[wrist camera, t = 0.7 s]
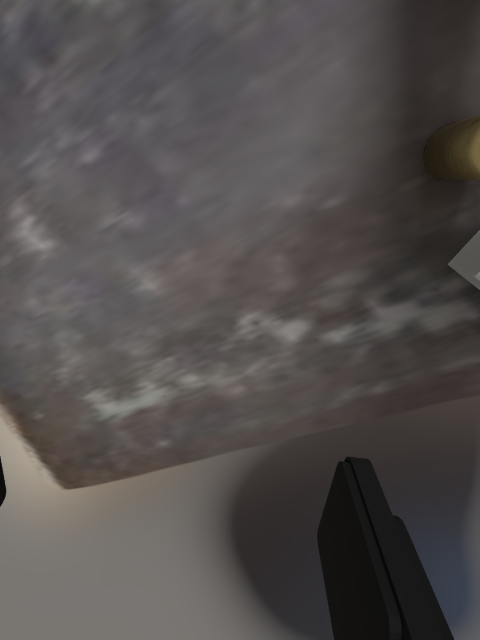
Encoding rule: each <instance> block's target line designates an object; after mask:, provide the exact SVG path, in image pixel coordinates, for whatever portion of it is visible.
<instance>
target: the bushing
mask: <svg viewBox="0 0 480 640" xmlns="http://www.w3.org/2000/svg"><path fill="white" fill-rule="evenodd" d="M424 164H425V167H426V169H427V171H428V172H429V173H430V174H431V175H432V176H433V177H435V178H437V179H442V180H480V115H479V116H476V117H472V118H469V119H465V120H461V121H458V122H454V123H451V124H447V125H445V126H443V127H441V128H439V129H438V130H437V131H436V132H435V133H434V134H433V135H432V136H431V137H430V139H429V140H428V142H427V144H426V147H425V150H424Z"/></svg>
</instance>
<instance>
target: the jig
mask: <svg viewBox="0 0 480 640" xmlns="http://www.w3.org/2000/svg"><path fill="white" fill-rule="evenodd" d="M447 265H448V266H450V267H451V268H452V269H453V270H455V271H456V272H457V273H458V274H460V275H461V276H462V277H464V278H465V279H466V280H467V281H469V282H470V283H471V284H472V285H474V286H475V287H476V288H478V289H479V290H480V230H479V231H478V232H477V233H476V234H475V235H474V236H473V237H472V238H471V239H470V241H469V242H468V243H467V244H466V245H465V246H464V247H463V248H462V249H461V250H460V251H459V252H458V253H457V254H456V256H455V257H454V258H453V259H452V260H451V261H450V262H449V263H448V264H447Z"/></svg>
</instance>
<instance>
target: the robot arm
mask: <svg viewBox="0 0 480 640" xmlns="http://www.w3.org/2000/svg"><path fill="white" fill-rule="evenodd" d="M5 496H6V486H5V480H4V474H3V469H2V463H1V458H0V506H1V505H2V503H3V501H4V499H5ZM317 539H318V548H319V553H320V559H321V565H322V571H323V577H324V582H325V588H326V594H327V600H328V605H329V612H330V617H331V623H332V629H333V635H334V640H454V638H453V636H452V634H451V631H450V629H449V627H448V624H447V622H446V620H445V617H444V615H443V613H442V610H441V608H440V606H439V603H438V601H437V599H436V596H435V594H434V592H433V589H432V587H431V585H430V582H429V580H428V578H427V575H426V573H425V571H424V568H423V566H422V564H421V561H420V559H419V557H418V554H417V552H416V550H415V547H414V545H413V543H412V540H411V538H410V536H409V533H408V531H407V529H406V527H405V525H404V523H403V521H402V520H401V519H400V518H399V517H398V516H393V515H392V513H391V511H390V508H389V506H388V503H387V501H386V498H385V496H384V493H383V491H382V488H381V486H380V483H379V481H378V478H377V476H376V473H375V471H374V469H373V466H372V464H371V462H370V461H369V460H368V459H362V458H355V457H346V458H345V461H344V462H341V461H340V462H339V463H338V465H337V468H336V471H335V475H334V478H333V481H332V485H331V488H330V491H329V494H328V498H327V501H326V505H325V508H324V511H323V514H322V518H321V521H320V524H319V528H318V535H317Z"/></svg>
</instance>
